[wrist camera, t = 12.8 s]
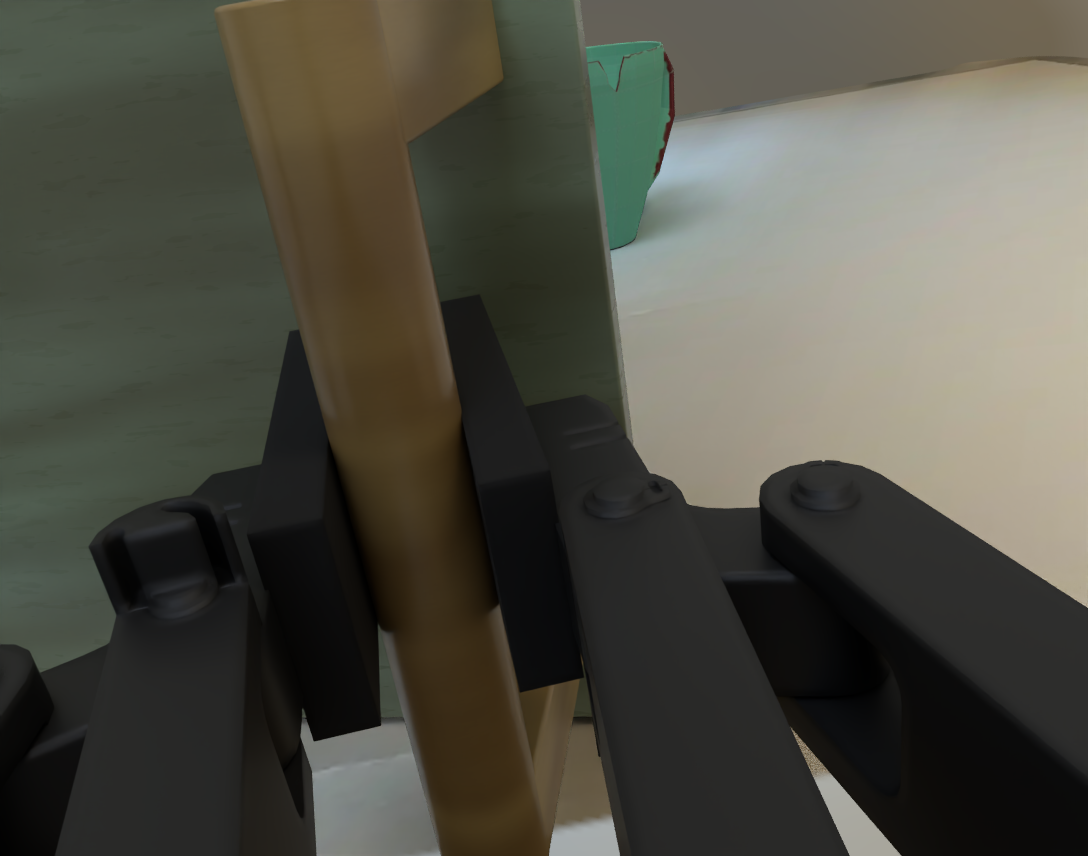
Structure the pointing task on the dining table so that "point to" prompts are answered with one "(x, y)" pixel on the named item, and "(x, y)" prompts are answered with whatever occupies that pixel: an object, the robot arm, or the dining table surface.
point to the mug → (630, 126)
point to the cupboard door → (302, 316)
